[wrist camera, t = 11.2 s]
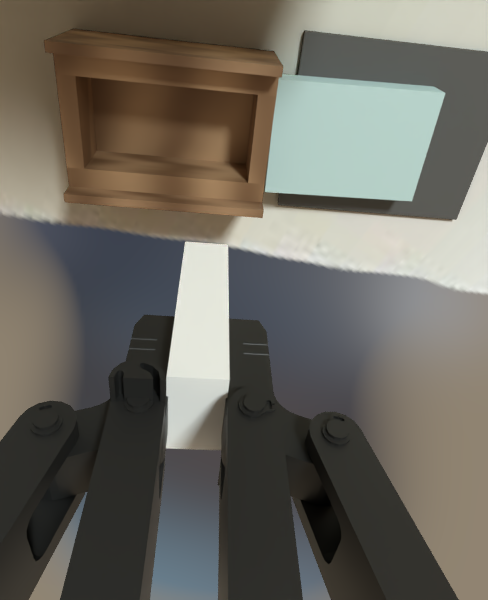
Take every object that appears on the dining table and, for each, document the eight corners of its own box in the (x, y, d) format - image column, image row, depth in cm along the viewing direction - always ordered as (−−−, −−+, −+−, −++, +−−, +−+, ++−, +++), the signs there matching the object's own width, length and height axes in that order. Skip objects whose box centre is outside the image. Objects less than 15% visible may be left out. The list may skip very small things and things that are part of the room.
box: (86, 169, 38) (64, 202, 33) (73, 28, 32) (43, 40, 27) (257, 184, 39) (262, 217, 34) (273, 51, 33) (283, 66, 28)
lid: (262, 181, 38) (264, 192, 37) (274, 73, 34) (277, 79, 32) (403, 190, 39) (411, 201, 38) (434, 86, 35) (445, 92, 33)
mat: (277, 203, 40) (278, 204, 40) (304, 30, 33) (305, 31, 32) (454, 217, 41) (456, 219, 41) (519, 55, 34) (522, 56, 34)
